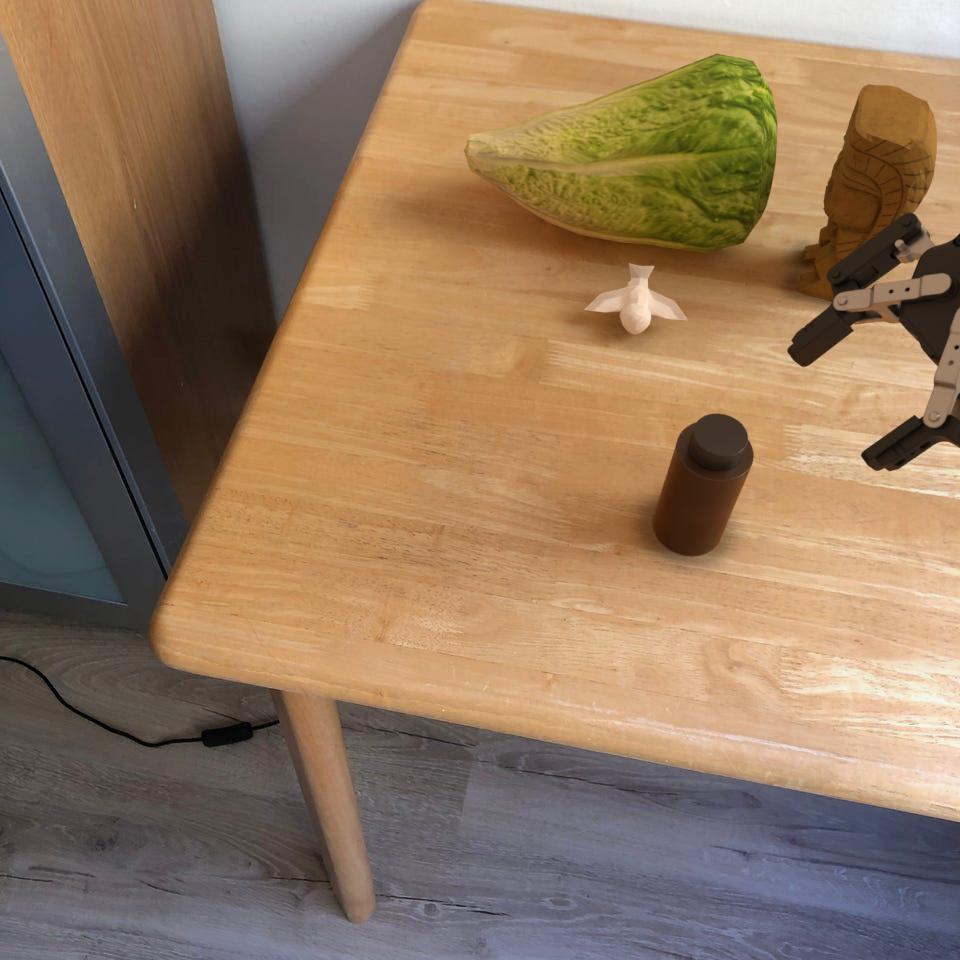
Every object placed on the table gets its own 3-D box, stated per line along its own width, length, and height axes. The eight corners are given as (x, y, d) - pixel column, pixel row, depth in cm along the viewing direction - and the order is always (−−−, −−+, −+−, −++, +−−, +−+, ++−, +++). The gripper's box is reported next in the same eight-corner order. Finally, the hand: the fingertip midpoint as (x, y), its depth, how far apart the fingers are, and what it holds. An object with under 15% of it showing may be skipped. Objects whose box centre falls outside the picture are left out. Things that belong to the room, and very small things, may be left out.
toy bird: (580, 335, 73) (588, 276, 71) (581, 311, 77) (589, 254, 75) (686, 346, 73) (698, 287, 70) (682, 321, 77) (693, 265, 74)
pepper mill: (735, 528, 64) (776, 435, 56) (692, 569, 63) (728, 479, 54) (681, 487, 66) (714, 391, 58) (638, 525, 64) (665, 432, 56)
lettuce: (463, 282, 79) (474, 181, 89) (766, 280, 77) (743, 177, 87) (451, 115, 68) (465, 21, 78) (803, 109, 66) (772, 13, 76)
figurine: (800, 242, 81) (862, 78, 69) (879, 259, 80) (956, 96, 68) (789, 297, 77) (853, 133, 65) (872, 316, 76) (953, 154, 64)
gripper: (984, 109, 53) (745, 308, 60) (1171, 283, 45) (872, 487, 52) (1018, 173, 58) (796, 348, 65) (1190, 337, 50) (917, 516, 57)
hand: (830, 409), depth 58 cm, fingers open, 8 cm apart
